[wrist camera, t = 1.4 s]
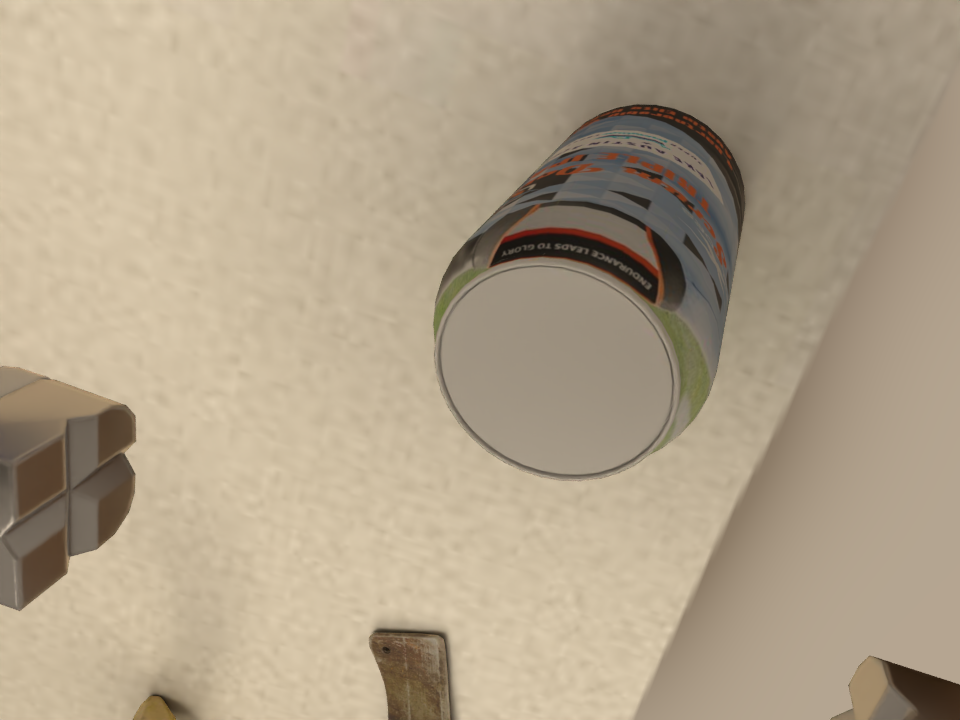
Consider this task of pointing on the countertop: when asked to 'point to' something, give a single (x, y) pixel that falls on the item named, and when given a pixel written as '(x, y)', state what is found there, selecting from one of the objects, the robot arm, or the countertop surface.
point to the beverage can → (595, 298)
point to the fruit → (154, 710)
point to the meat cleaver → (413, 675)
